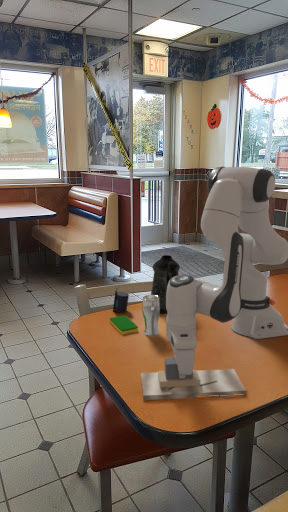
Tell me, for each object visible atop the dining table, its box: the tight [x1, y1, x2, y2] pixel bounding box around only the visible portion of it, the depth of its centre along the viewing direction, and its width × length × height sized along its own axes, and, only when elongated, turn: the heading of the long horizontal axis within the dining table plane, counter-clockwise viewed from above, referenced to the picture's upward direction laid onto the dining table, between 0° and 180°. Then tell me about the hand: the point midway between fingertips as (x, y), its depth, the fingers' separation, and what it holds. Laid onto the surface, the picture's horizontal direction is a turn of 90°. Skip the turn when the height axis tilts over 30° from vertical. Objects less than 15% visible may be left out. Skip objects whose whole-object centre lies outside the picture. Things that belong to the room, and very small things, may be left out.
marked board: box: [140, 368, 247, 401], centre depth 117 cm, size 30×12×2 cm, turn 94°
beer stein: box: [150, 254, 181, 315], centre depth 176 cm, size 16×19×25 cm
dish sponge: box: [109, 314, 139, 336], centre depth 160 cm, size 7×14×2 cm, turn 26°
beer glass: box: [141, 294, 161, 337], centre depth 152 cm, size 7×7×15 cm
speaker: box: [112, 286, 130, 314], centre depth 176 cm, size 8×6×10 cm
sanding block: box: [157, 356, 200, 388], centre depth 116 cm, size 12×6×7 cm, turn 93°
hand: (180, 372), depth 117 cm, fingers closed on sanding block, 4 cm apart
